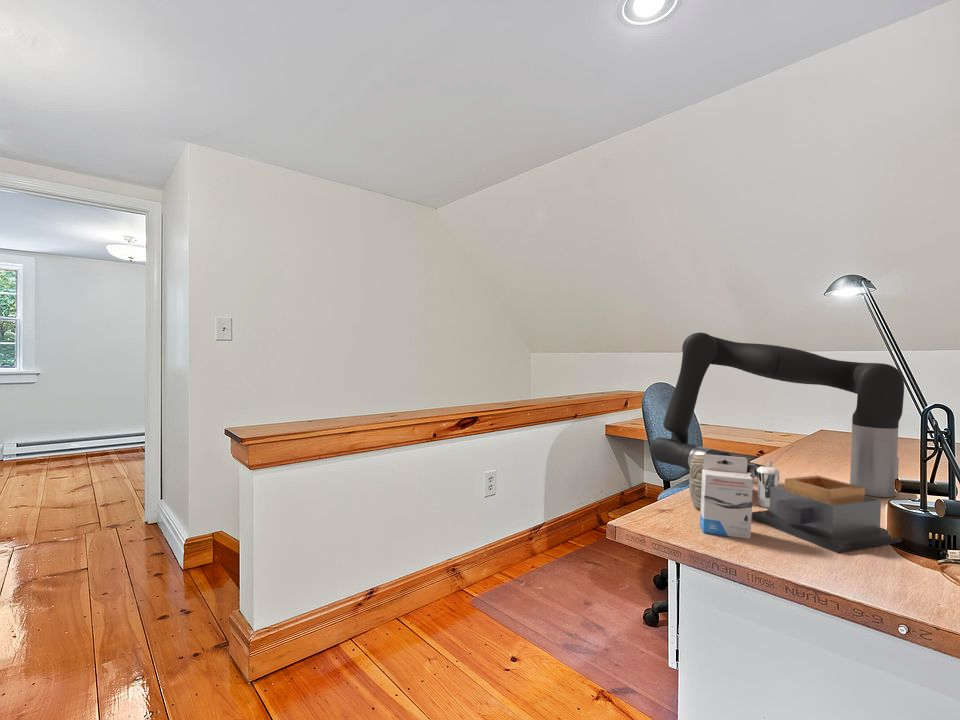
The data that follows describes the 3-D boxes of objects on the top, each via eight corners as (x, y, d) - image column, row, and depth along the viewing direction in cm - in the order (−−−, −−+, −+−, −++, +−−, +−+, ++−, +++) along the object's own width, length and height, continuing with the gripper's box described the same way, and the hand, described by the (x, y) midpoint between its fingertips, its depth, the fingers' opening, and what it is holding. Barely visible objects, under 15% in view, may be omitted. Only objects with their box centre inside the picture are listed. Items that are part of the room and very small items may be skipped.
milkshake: (781, 505, 113) (782, 462, 113) (775, 510, 109) (777, 466, 109) (759, 500, 116) (760, 459, 116) (753, 505, 112) (754, 462, 112)
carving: (695, 502, 114) (696, 451, 114) (729, 510, 109) (730, 457, 109) (683, 507, 110) (684, 455, 110) (717, 516, 105) (719, 461, 104)
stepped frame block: (809, 511, 109) (810, 469, 109) (901, 542, 92) (903, 492, 92) (748, 519, 103) (749, 475, 103) (834, 553, 86) (836, 500, 86)
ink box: (702, 533, 95) (705, 458, 94) (699, 525, 100) (701, 453, 99) (751, 539, 92) (754, 462, 92) (746, 530, 97) (748, 457, 97)
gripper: (689, 450, 127) (741, 464, 111) (732, 447, 131) (787, 460, 116) (688, 479, 127) (740, 497, 111) (731, 475, 131) (786, 492, 116)
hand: (764, 478), depth 114 cm, fingers open, 8 cm apart
